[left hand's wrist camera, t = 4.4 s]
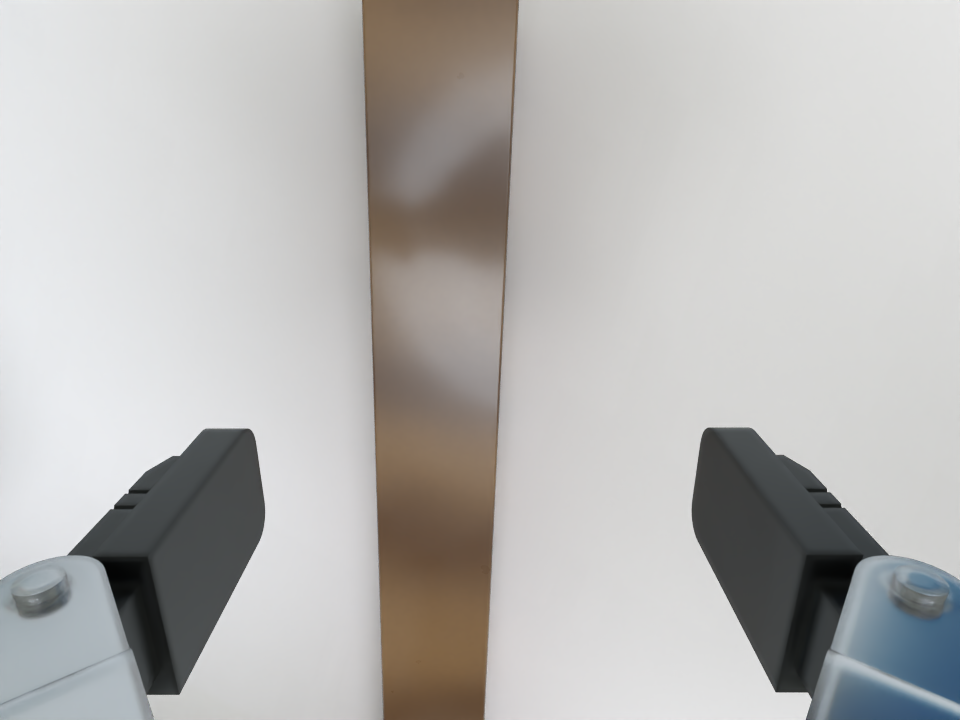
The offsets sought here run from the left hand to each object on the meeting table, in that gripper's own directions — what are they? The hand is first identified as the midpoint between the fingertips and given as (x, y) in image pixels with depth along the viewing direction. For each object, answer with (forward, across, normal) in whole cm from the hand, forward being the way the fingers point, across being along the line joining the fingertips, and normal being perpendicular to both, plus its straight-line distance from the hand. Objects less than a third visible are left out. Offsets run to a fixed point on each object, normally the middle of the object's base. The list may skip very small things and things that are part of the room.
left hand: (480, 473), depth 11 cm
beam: (+18, -2, -19) cm, 26 cm away
